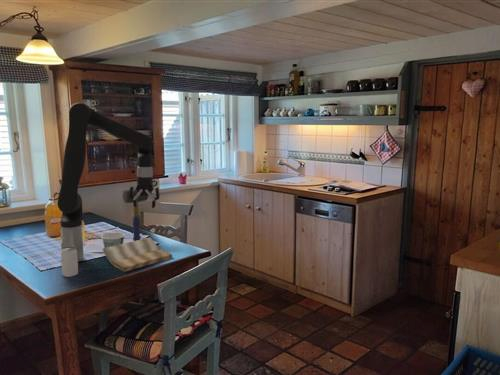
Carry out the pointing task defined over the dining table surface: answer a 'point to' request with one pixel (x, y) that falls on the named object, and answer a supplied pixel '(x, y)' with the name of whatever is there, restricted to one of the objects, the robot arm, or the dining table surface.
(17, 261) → the dining table surface
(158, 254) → the oak board
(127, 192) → the rubber mallet
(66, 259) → the can
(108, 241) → the food container
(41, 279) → the dining table surface
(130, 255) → the cream ridged flat piece
